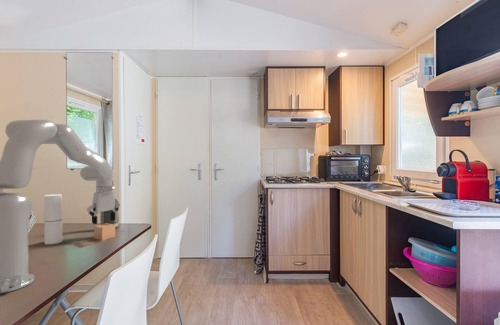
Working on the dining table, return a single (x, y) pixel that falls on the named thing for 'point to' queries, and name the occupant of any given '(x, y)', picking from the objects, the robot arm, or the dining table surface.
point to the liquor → (106, 217)
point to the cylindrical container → (53, 218)
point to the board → (88, 242)
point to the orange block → (104, 231)
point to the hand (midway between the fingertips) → (104, 222)
